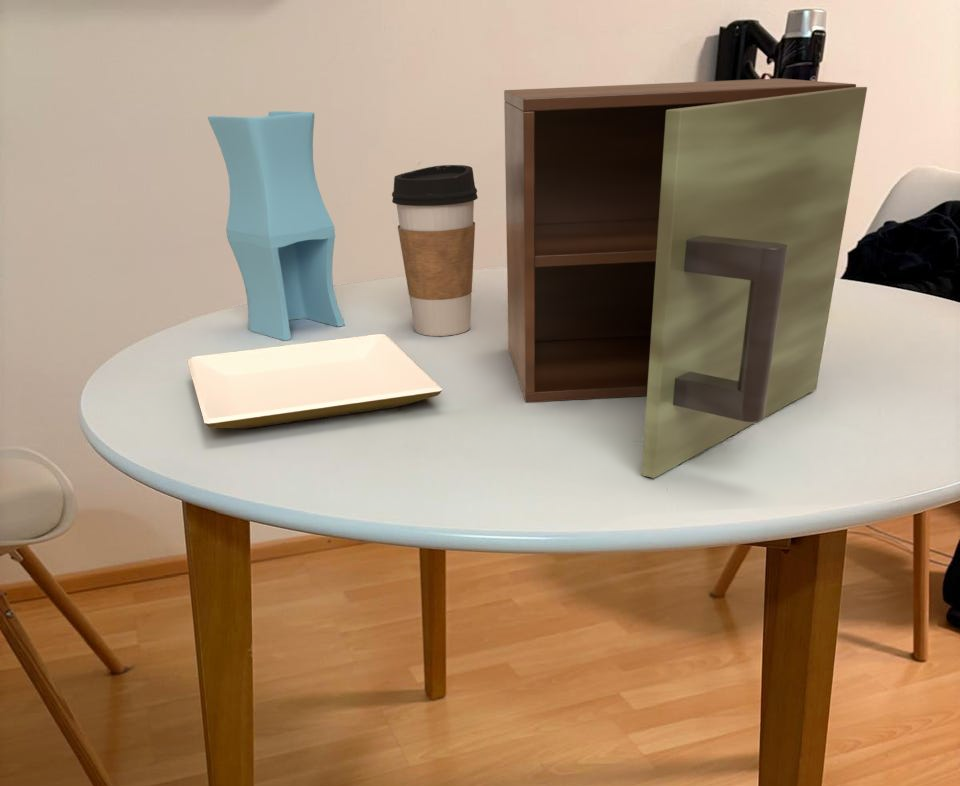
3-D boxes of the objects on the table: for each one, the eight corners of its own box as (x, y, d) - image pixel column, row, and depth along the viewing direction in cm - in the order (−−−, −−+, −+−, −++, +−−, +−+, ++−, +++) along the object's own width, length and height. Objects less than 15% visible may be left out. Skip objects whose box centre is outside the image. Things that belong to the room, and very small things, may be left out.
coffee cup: (498, 326, 96) (495, 167, 87) (439, 344, 91) (429, 176, 83) (445, 314, 101) (436, 162, 93) (385, 330, 96) (371, 171, 88)
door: (887, 403, 71) (955, 86, 60) (732, 502, 57) (782, 111, 46) (805, 387, 75) (853, 86, 64) (641, 475, 61) (665, 109, 50)
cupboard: (807, 387, 76) (856, 84, 64) (525, 402, 75) (523, 98, 63) (747, 336, 89) (780, 78, 77) (508, 349, 88) (504, 90, 77)
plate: (191, 379, 84) (186, 356, 82) (387, 354, 88) (386, 332, 87) (209, 447, 69) (204, 420, 68) (445, 412, 74) (443, 387, 72)
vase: (302, 314, 103) (275, 111, 92) (345, 325, 98) (321, 112, 88) (242, 328, 99) (206, 116, 88) (284, 340, 94) (251, 118, 83)
